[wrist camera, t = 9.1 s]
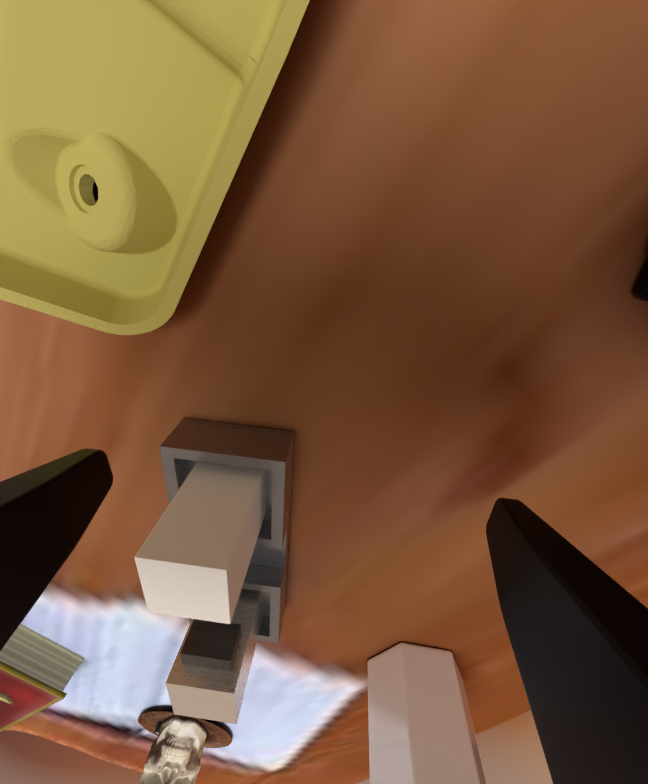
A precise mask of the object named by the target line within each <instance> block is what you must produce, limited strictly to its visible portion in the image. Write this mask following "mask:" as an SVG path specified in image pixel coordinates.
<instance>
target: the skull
mask: <svg viewBox="0 0 648 784" xmlns="http://www.w3.org/2000/svg"><path fill="white" fill-rule="evenodd" d="M146 711H150V710H146ZM138 722H139V724H141V725H142V726H143V727H144V728H145V729H147V730H149V732H151V733H153V734H155V735H157V734H156V732H158V733H159V735H157V736H158V738H157V739H156V740H155V741H154V743H153V744H152V746H151V750H150V752H149V755H148V758H147V761H146V762H145V764H144V769H143V773H142V776H141V780H140V784H194V783H195V780H196V777H197V775H198V772H199V770H200V768H201V764H200V760H201V757H202V753H203V747H207V748H219V747H225V746H228V745H229V744H230V743H231V742H232V739H231V736H230V735H229V734H228V733H227V732H226V731H224V730H223V729H221V728H220V726H219V727H218V726H216V725H214V724H213V723H209V722H207V721H205V720H202V719H199V718H195V717H189V716H182V715H176V714H174V712H168V711H166V712H165V711H164V712H162V711H158V712H157V710H156V711H155V712H154V711H153V712H146V713H144V712H143V713H141V715H140V716H139V718H138Z"/></svg>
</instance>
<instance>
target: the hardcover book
mask: <svg viewBox="0 0 648 784" xmlns="http://www.w3.org/2000/svg"><path fill="white" fill-rule="evenodd" d="M82 660H83V657H81V656H80V655H78V654H76V653H74V652H72V651H70V650H68V649H66V648H64V647H63V646H61V645H59V644H57V643H55V642H53V641H51V640H49V639H48V638H46V637H44V636H42V635H40V634H38V633H36V632H34V631H33V630H31V629H29V628H27V627H25V626H23V625H21V624H20V625H19V626H18V628H17V629H16V631H15V632H14V633H13V635H12V636H11V638H10V639H9V640H8V642H7V643H6V644H5V646H4V647H3V649H2V650H1V651H0V732H1V731H3V730H5V729H7V728H9V727H11V726H13V725H15V724H16V723H18V722H20V721H22V720H24V719H26V718H28V717H30V716H32V715H33V714H35V713H37V712H39V711H41V710H43V709H45V708H47V707H49V706H51V705H52V704H54V703H56V702H58V701H60V700H62V699H64V697H65V696H66V693H64V692H62V691H63V690H64V688H65V687H66V685H67V683H68V682H69V680H70V679H71V677H72V676H73V674H74V672H75V671H76V669H77V668H78V666H79V664H80V663H81V661H82Z"/></svg>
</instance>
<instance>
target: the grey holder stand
mask: <svg viewBox="0 0 648 784" xmlns="http://www.w3.org/2000/svg"><path fill="white" fill-rule="evenodd" d="M294 433H295V431H289V430H281V429H272V428H264V427H256V426H247V425H239V424H231V423H223V422H214V421H206V420H198V419H190V418H184V419H183V420H182V421H181V422H180V423H179V424H178V426H177V427H176V428H175V429H174V430H173V431H172V433H171V434H170V435H169V436H168V437H167V438H166V439H165V441H164V442H163V443H162V444H161V445H160V452H161V458H162V464H163V470H164V475H165V481H166V487H167V493H168V498H169V504H170V502H171V501H172V499H173V498H174V496H175V495H176V493H177V492H178V490H179V489H180V487H181V486H182V484H183V483H184V481H185V480H186V478H187V477H188V475H189V473H190V472H191V470H192V469H193V467H194V466H195V464H196V463H197V461H201V462H209V463H217V464H225V465H233V466H241V467H249V468H257V469H264V470H266V513H265V516H264V519H263V522H262V526H261V529H260V532H259V535H258V538H257V541H256V545H255V548H254V551H253V554H252V557H251V560H250V564H249V567H248V570H247V573H246V576H245V579H244V583H243V586H242V589H241V592H240V595H239V599H238V602H237V605H236V608H235V611H234V614H233V618H232V621H231V624H225V623H218V622H211V621H205V620H198V619H191V618H189V620H190V626H189V628H188V631H187V633H186V635H185V638H184V640H183V643H182V645H181V647H180V650H179V652H178V655H177V657H176V659H175V662H174V664H173V667H172V669H171V672H170V674H169V676H168V679H167V681H166V686H167V690H168V693H169V697H170V701H171V704H172V708H173V712H174V714H176V715H182V716H189V717H195V718H201V719H207V720H214V721H220V722H226V723H233V724H237V721H238V716H239V712H240V708H241V704H242V700H243V696H244V692H245V687H246V683H247V679H248V675H249V671H250V667H251V662H252V658H253V654H254V650H255V646H256V642H257V640H261V641H268V642H275V643H278V642H279V637H280V632H281V626H282V621H283V616H284V610H285V605H286V587H287V568H288V549H289V529H290V510H291V491H292V471H293V452H294Z"/></svg>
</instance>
